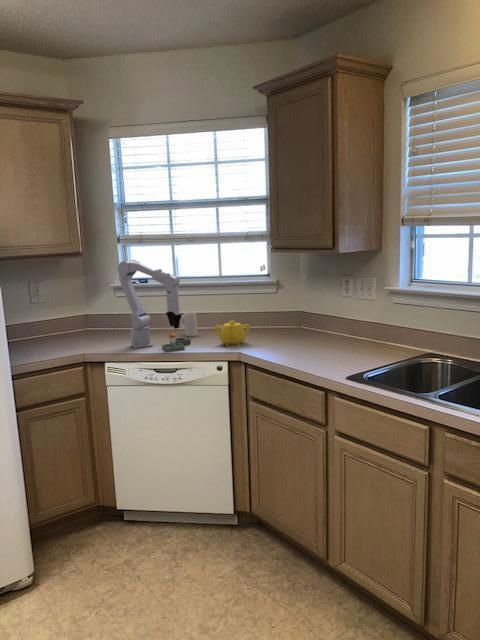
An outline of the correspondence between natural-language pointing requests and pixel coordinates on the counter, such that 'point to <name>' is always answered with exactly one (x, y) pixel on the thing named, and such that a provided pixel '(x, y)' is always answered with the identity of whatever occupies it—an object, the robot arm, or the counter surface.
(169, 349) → the tray
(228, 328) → the teapot
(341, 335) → the counter surface
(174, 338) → the small bottle
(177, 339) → the block
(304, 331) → the counter surface
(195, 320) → the mug
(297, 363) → the counter surface
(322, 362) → the counter surface
